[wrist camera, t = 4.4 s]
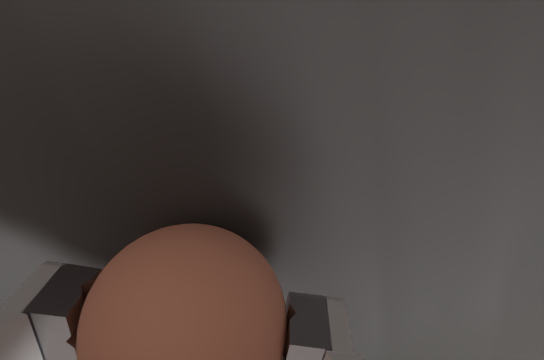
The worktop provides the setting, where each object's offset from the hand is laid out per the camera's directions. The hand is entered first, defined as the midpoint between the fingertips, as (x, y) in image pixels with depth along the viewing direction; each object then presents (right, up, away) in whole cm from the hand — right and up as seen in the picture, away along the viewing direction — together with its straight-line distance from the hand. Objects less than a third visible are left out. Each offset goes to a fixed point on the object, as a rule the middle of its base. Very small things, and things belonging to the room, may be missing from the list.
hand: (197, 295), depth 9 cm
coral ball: (0, 0, -1) cm, 1 cm away
